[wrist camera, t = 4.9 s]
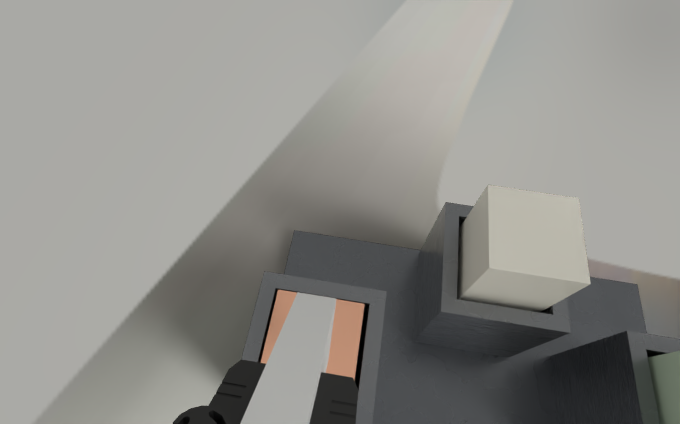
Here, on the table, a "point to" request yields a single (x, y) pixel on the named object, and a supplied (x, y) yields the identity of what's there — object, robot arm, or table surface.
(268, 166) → the table surface
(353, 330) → the terracotta button
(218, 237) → the table surface
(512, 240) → the ivory button
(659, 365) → the sage button
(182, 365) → the table surface
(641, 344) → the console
